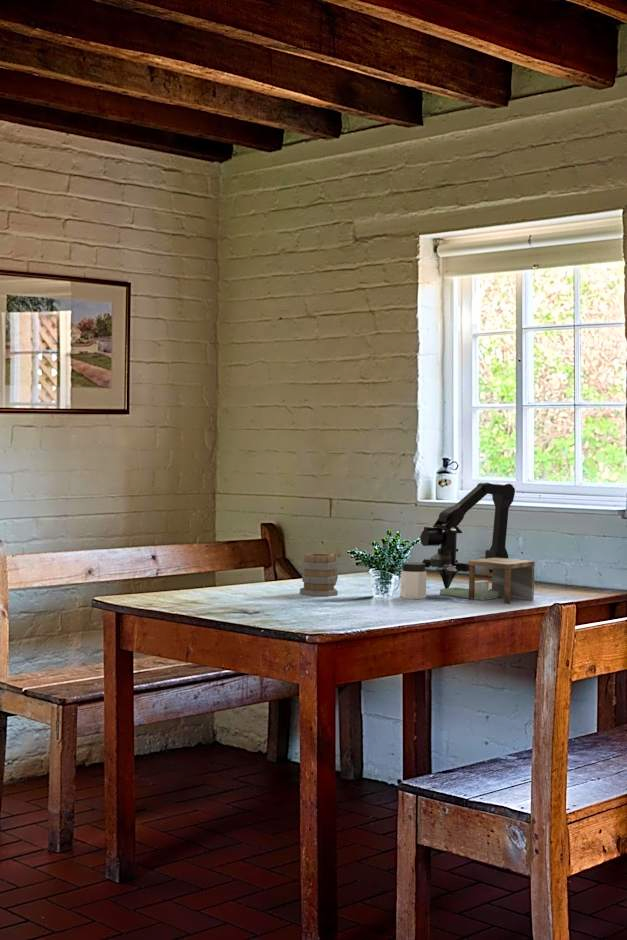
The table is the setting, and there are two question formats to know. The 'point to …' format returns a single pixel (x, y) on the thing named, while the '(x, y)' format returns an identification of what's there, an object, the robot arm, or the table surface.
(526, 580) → the stand
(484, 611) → the table surface
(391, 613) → the table surface
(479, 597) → the tray
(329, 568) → the tankard
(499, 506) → the robot arm
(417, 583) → the jar
